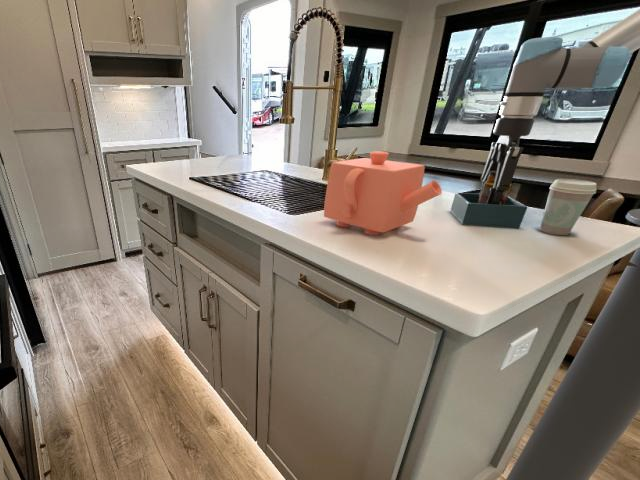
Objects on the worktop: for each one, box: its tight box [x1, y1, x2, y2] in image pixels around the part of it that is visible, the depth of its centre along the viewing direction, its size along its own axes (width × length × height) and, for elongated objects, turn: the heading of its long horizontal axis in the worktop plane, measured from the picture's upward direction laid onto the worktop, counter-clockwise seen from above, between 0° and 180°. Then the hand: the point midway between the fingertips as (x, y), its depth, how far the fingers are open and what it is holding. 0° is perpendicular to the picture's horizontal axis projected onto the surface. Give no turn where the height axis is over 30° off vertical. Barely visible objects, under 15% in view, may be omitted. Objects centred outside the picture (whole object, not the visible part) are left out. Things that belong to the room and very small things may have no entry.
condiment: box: [478, 170, 512, 205], centre depth 95 cm, size 7×8×12 cm
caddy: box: [449, 192, 528, 230], centre depth 97 cm, size 13×13×6 cm
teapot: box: [323, 150, 442, 236], centre depth 87 cm, size 25×23×18 cm
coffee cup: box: [539, 178, 597, 236], centre depth 86 cm, size 9×8×12 cm
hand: (484, 212), depth 97 cm, fingers closed on condiment, 6 cm apart
